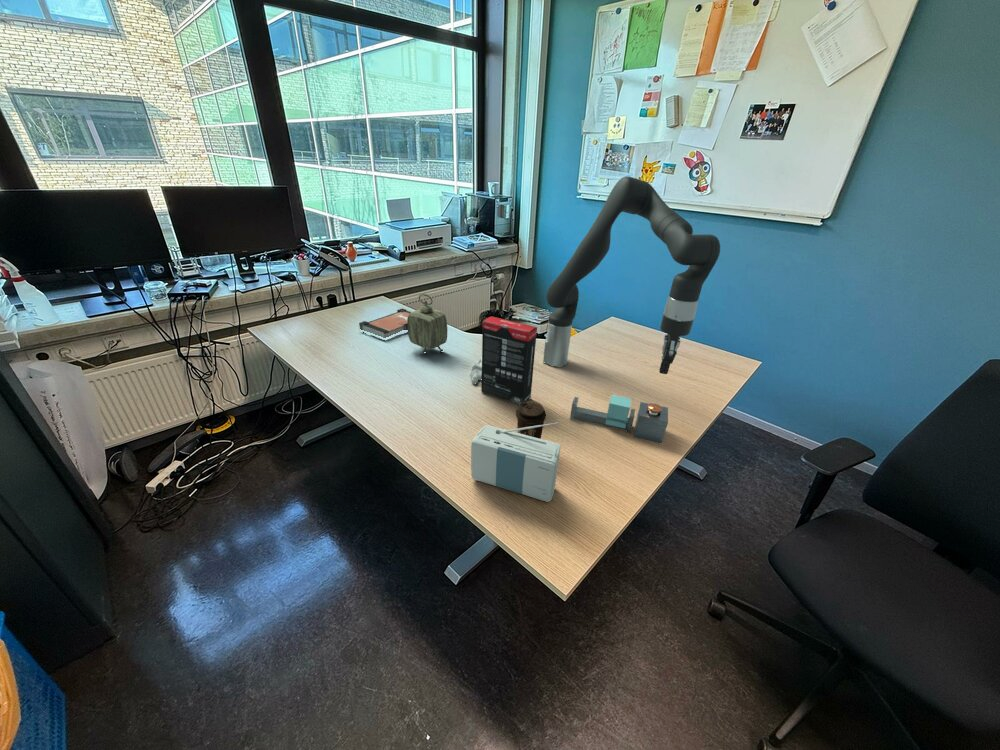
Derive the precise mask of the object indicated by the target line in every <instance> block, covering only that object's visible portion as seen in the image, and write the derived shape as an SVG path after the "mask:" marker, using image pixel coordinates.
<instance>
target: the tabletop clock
mask: <svg viewBox="0 0 1000 750" xmlns="http://www.w3.org/2000/svg"><path fill="white" fill-rule="evenodd" d="M423 296H425V297H428V298H429V299H430V301H431V302H428V301H427V300H425V301H422V300H421V297H423ZM418 300H419V302H420V303H421V304H422V305H421V306H420V308H419V309H416V310H414V311H410V312H411V313H410V314H409V316H408V319H407V324H408V333H407V334H408V340H409V341H410V343H412V344H413V345H416V346H418V347H421V348H424V350H422V353H423V352H426V351H427V349H430V350H434V349H435V348H438V349H439V352H440V351H443V350H444V349H442V348H441V345H444V344H445V343H447V341H448V322H447V317H446V314H445V313H443V312H442V311H440V310H439V309H435V308H433V307H432V306H431V305H432V304H433V298H432V297H431V296H430V295H429V294H426V293H421V294H419V295H418Z"/></svg>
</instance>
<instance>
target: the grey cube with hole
mask: <svg viewBox="0 0 1000 750" xmlns="http://www.w3.org/2000/svg"><path fill="white" fill-rule="evenodd" d="M648 404H649V403H647V402H643V401H640V403H639V407H638V411H637V414H636V415H637V416H636V419H635V423H634V433H633V438H634V439H639V440H643V441H648V442H652V443H655V444H656V443H657V444H662V443H663V440H664V438H665V434H666V431H667V426H668V424H669V407H666V406H662V405H660V406H661V407H662V411H661V412H660V413H658V415H653V414H648V413H649V410H648V408H647V407H648Z"/></svg>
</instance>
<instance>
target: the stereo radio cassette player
mask: <svg viewBox="0 0 1000 750" xmlns="http://www.w3.org/2000/svg"><path fill="white" fill-rule="evenodd" d="M558 424H559V421H556V422H554V423H553V422H550V423H547V424H546V423H544V425H537V426H531V427H525V428H519V429H517V428H514V429H504V428H500V427H496V426H492V425H488V424H485V425H483V427H481V429H479V431H478V432H477V433H476V435H475V436H474V437H473V439H472V441H471V447H470V449H471V450H470V454H471V455H470V471H471V475H470V476H471V479H473V480H475V481H479V482H482V483H485V484H488V485H491V486H496V487H498V488H500V489H504V490H507V491H511V492H514V493H517V494H520V495H524V496H528V497H530V498H534V499H537V500H540V501H543V502H547V503H549V502H551V500H552V499H553V496H554V493H555V489H556V483H557V477H558V469H559V460H560V452H561V444H560V443H558V442H555V441H554V442H553V441H551V440H547V439H542V438H541V439H539V438H535V437H531V436H527V435H524V434H520V433H518V430H524V429H530V428H536V427H541V426H543V427H546V426H549V425H558Z"/></svg>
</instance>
